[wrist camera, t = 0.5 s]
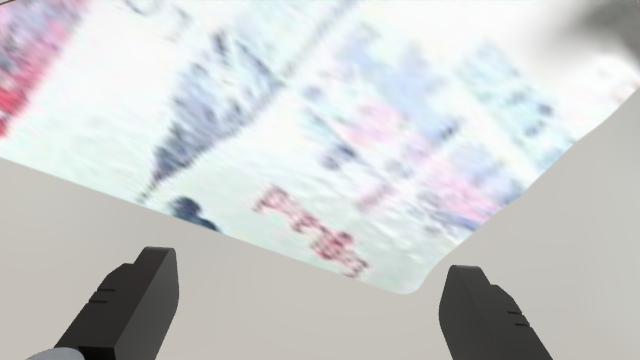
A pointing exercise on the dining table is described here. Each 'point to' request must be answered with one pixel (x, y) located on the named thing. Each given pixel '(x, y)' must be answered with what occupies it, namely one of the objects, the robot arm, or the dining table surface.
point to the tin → (5, 1)
